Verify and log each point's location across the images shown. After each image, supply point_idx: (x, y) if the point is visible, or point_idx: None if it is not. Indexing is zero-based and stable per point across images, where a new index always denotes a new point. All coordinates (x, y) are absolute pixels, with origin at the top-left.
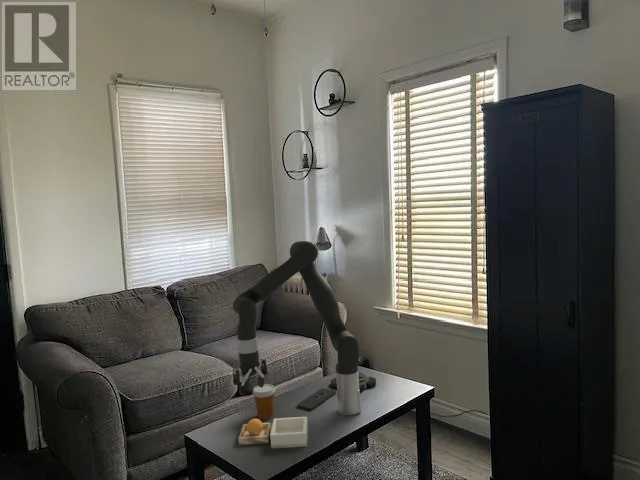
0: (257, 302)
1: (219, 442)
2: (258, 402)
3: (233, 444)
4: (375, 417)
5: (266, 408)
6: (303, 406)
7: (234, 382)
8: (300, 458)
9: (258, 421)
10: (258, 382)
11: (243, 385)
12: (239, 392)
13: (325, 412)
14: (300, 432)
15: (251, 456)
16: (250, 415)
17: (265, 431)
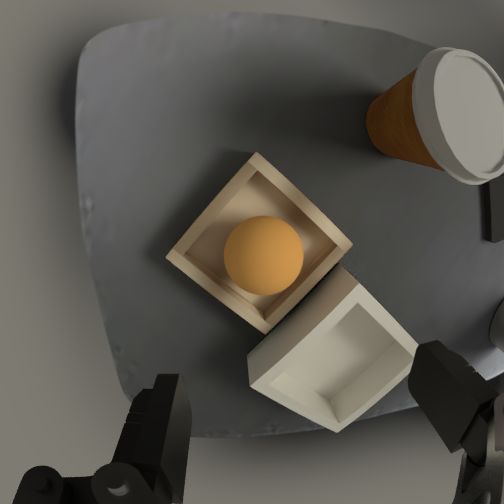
0: None
1: (123, 170)
2: (401, 123)
3: (156, 229)
4: (490, 376)
5: (406, 157)
6: (491, 210)
7: (33, 501)
8: (270, 431)
9: (277, 287)
10: (442, 371)
11: (172, 497)
12: (135, 401)
13: (490, 281)
14: (331, 423)
15: (169, 347)
16: (353, 66)
17: (304, 255)
